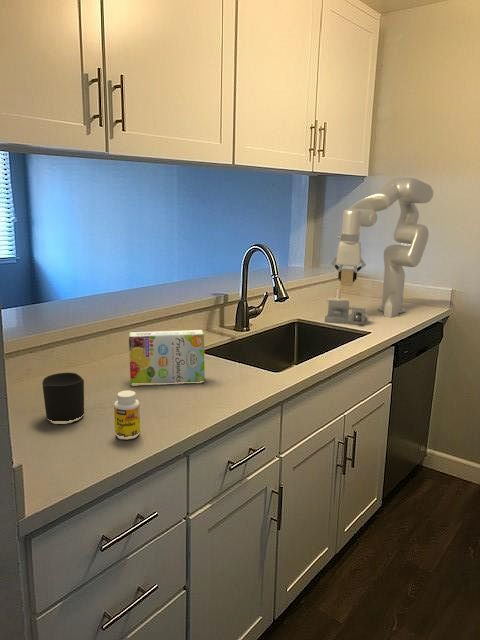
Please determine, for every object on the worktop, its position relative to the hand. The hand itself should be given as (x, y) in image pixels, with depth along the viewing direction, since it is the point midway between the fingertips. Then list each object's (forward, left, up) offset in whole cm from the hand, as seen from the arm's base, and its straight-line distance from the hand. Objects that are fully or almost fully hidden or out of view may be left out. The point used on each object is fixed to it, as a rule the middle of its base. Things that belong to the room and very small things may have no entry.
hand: (347, 280), depth 229 cm
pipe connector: (-21, -5, -18) cm, 28 cm away
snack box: (+97, -41, -18) cm, 107 cm away
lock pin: (+3, +6, -16) cm, 17 cm away
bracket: (+1, 0, -18) cm, 18 cm away
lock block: (0, 0, -2) cm, 2 cm away
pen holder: (+128, -54, -18) cm, 140 cm away
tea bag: (-17, +20, -18) cm, 31 cm away
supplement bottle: (+132, -35, -18) cm, 138 cm away
